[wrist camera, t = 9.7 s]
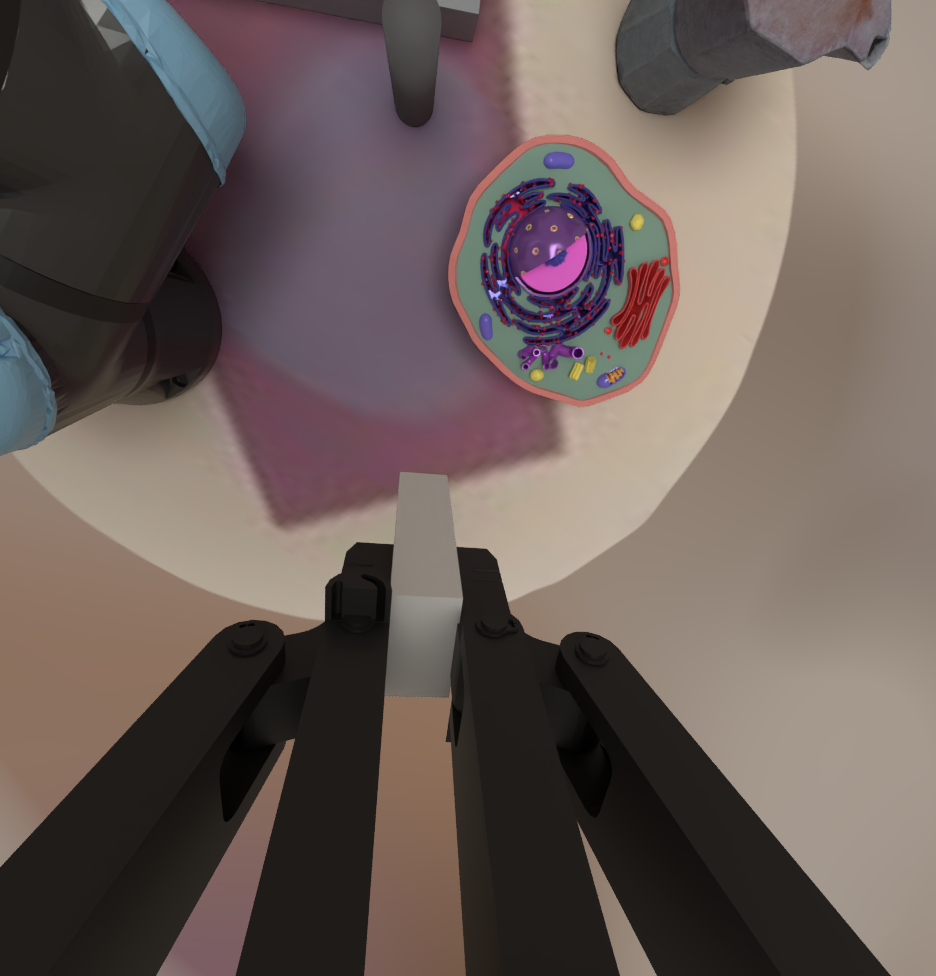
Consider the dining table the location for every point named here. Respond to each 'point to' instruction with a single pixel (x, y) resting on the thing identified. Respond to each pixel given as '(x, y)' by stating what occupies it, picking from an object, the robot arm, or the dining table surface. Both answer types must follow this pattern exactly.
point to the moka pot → (737, 43)
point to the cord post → (412, 55)
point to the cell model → (565, 272)
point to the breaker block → (366, 5)
